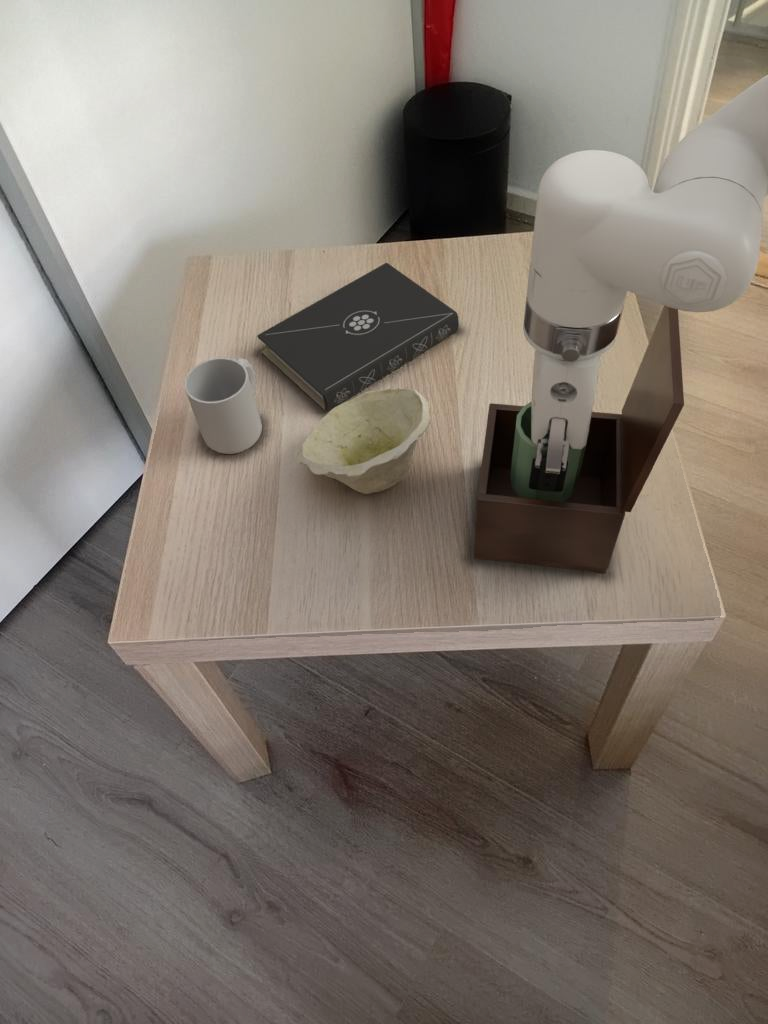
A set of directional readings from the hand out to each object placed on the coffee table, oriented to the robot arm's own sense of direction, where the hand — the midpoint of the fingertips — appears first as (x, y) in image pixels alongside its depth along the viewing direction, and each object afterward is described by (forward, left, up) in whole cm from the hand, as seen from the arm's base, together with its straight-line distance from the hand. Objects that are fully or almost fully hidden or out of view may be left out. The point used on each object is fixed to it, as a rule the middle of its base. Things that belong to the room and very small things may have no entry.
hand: (547, 457), depth 77 cm
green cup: (0, 0, -4) cm, 4 cm away
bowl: (+19, -4, -10) cm, 22 cm away
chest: (-1, 0, -10) cm, 10 cm away
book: (+24, -25, -10) cm, 36 cm away
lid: (-8, 0, +8) cm, 11 cm away
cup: (+36, -9, -10) cm, 39 cm away
